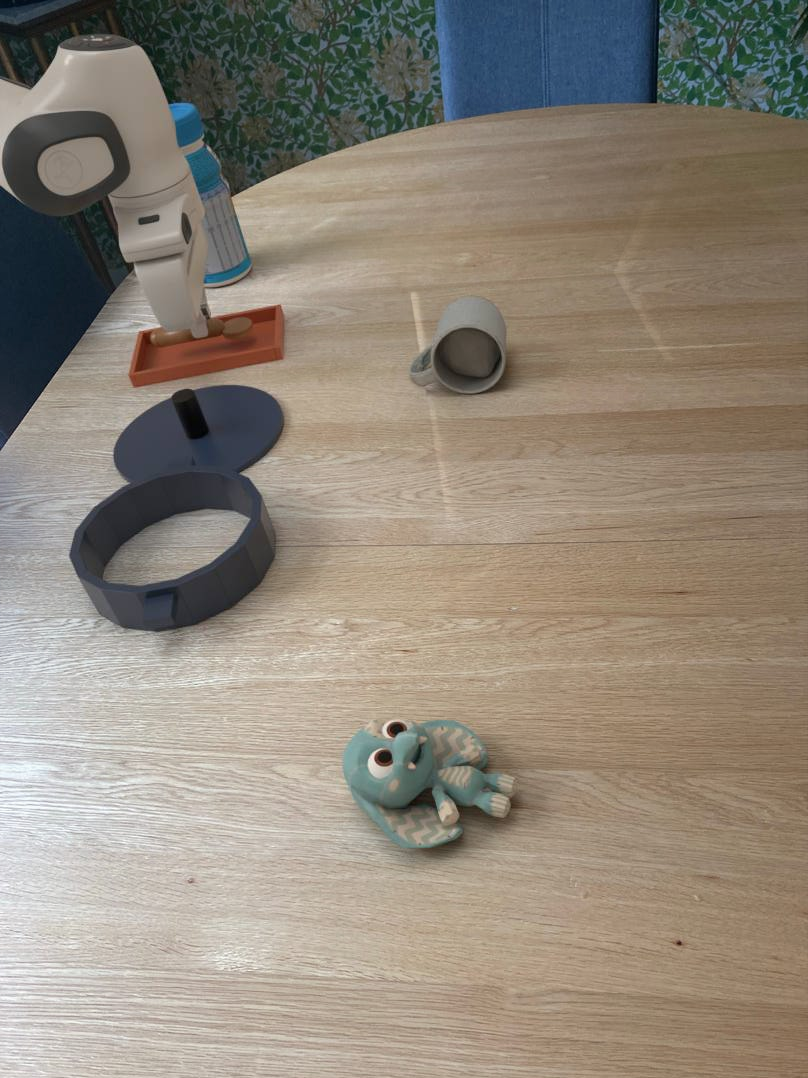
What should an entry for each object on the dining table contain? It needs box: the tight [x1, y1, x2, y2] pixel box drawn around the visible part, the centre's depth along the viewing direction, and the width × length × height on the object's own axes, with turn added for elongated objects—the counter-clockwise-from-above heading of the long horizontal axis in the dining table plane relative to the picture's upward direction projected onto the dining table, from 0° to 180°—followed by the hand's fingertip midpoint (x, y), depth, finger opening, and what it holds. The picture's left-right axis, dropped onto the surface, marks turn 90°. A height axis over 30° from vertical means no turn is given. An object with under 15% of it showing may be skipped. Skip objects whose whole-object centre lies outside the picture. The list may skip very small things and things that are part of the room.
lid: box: [112, 384, 285, 484], centre depth 103 cm, size 18×18×6 cm
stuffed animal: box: [341, 716, 518, 850], centre depth 68 cm, size 11×7×12 cm
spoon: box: [150, 317, 253, 347], centre depth 116 cm, size 12×4×2 cm, turn 97°
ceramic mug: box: [408, 295, 507, 395], centre depth 105 cm, size 11×8×8 cm
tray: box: [128, 303, 285, 388], centre depth 117 cm, size 17×10×2 cm, turn 97°
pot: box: [68, 456, 277, 632], centre depth 90 cm, size 17×22×5 cm
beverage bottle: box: [168, 102, 253, 288], centre depth 126 cm, size 8×8×20 cm
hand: (203, 327), depth 116 cm, fingers closed on spoon, 2 cm apart
